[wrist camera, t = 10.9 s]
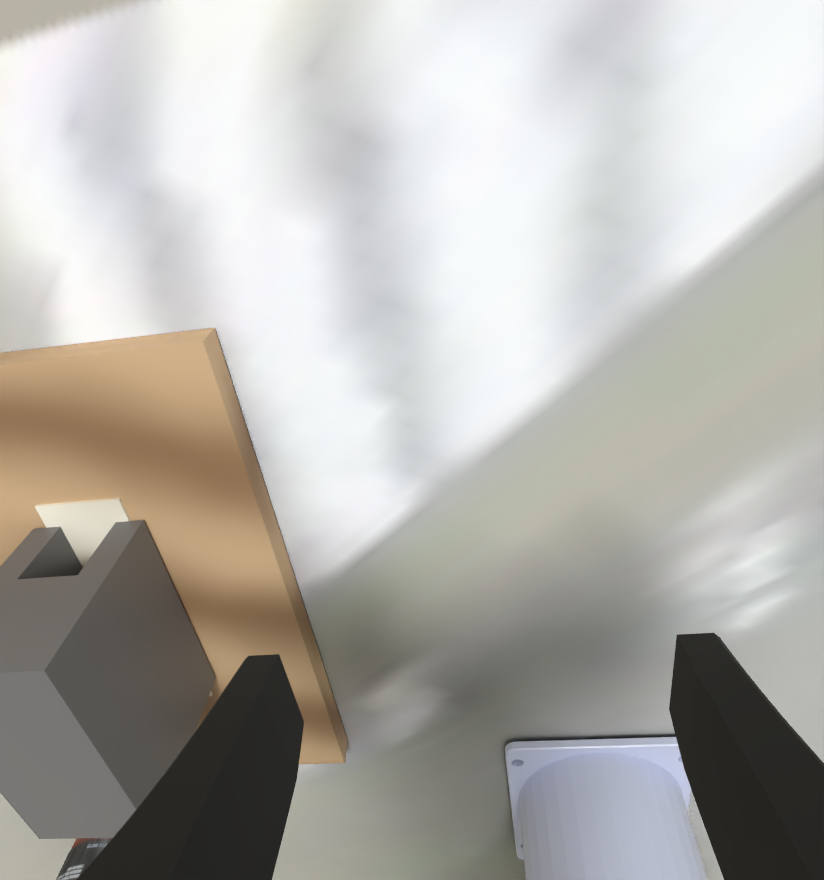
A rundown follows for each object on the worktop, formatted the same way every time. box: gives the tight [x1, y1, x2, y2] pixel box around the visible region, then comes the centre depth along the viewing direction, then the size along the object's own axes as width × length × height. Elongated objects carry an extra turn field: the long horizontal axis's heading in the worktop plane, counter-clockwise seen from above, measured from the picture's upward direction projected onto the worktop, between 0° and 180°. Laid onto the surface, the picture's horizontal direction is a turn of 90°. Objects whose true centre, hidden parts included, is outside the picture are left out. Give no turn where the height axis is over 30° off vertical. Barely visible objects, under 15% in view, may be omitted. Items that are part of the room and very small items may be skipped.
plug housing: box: [0, 520, 216, 839], centre depth 21 cm, size 8×4×6 cm, turn 8°
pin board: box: [0, 328, 348, 764], centre depth 23 cm, size 20×12×3 cm, turn 8°
